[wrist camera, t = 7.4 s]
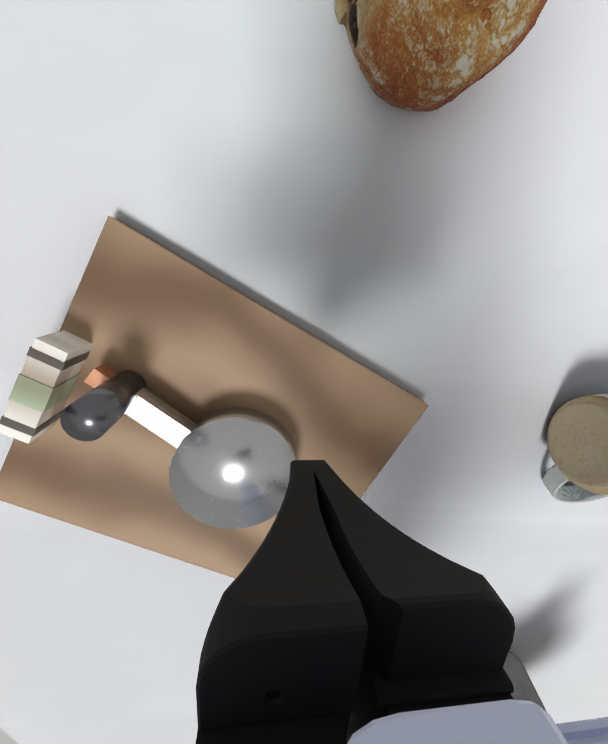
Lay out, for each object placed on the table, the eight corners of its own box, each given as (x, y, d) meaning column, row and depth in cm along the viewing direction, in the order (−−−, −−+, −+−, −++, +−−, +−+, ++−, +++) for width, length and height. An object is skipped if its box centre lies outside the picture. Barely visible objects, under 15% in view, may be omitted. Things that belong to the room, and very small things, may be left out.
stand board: (286, 584, 27) (289, 626, 24) (1, 486, 21) (-46, 525, 18) (421, 400, 23) (447, 420, 20) (116, 219, 17) (82, 206, 14)
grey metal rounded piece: (317, 452, 22) (331, 501, 17) (245, 525, 23) (239, 589, 19) (142, 317, 18) (98, 333, 13) (64, 414, 19) (-2, 459, 14)
